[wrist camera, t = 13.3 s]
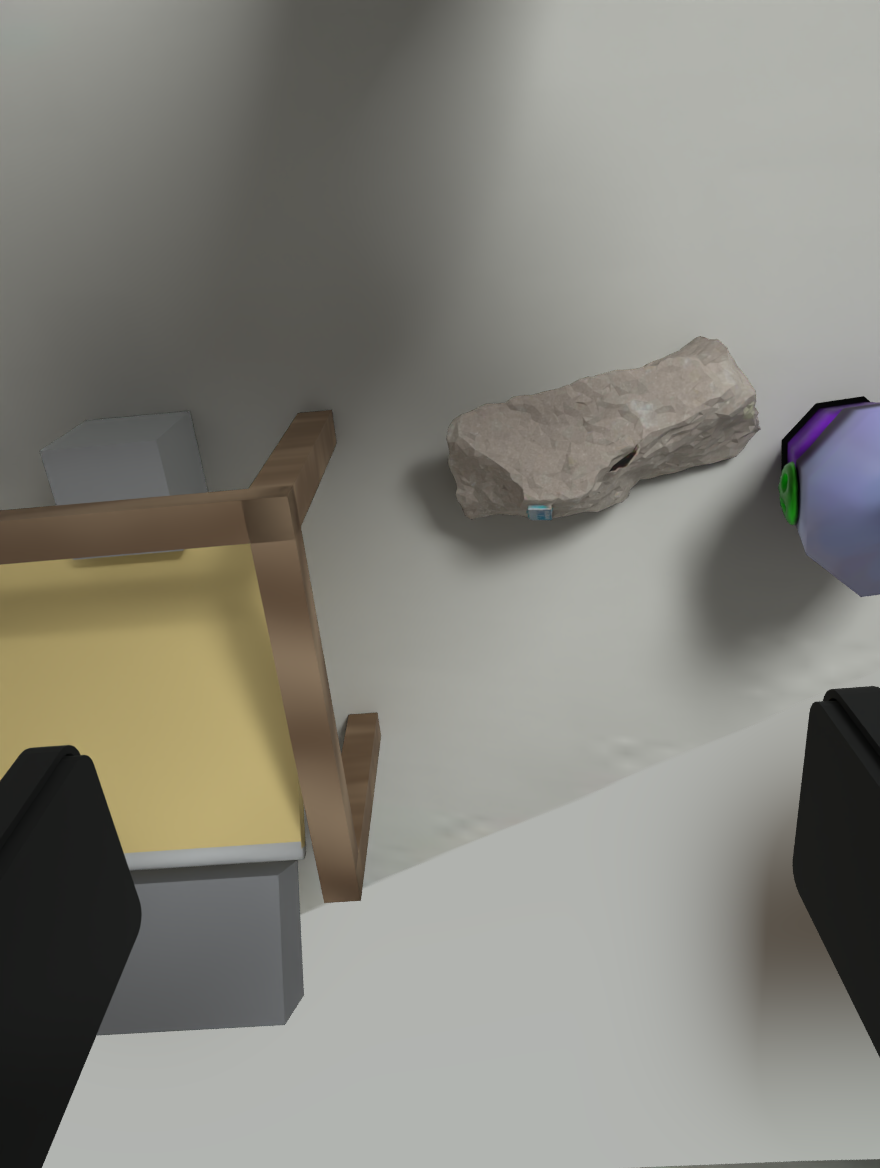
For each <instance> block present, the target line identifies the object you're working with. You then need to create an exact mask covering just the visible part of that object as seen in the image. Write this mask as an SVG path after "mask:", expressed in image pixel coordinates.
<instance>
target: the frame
mask: <svg viewBox="0 0 880 1168" xmlns="http://www.w3.org/2000/svg"><path fill="white" fill-rule="evenodd" d="M336 444H337V441H336V435H335V428H334V421H333V415H332V410H326V411H315V412H304V413H298V414H297V415H296V417H295V418H294V420H293V421H292V423H291V425H290V426H289V428H288V429H287V431H286V432H285V434H284V435H283V437H282V438H281V440H280V441H279V443H278V444H277V446H276V448H275V449H274V451H273V452H272V454H271V455H270V457H269V458H268V460H267V461H266V463H265V464H264V466H263V467H262V469H261V470H260V472H259V474H258V475H257V477H256V478H255V480H254V481H253V483H252V484H251V486H250V487H249V489H241V490H229V491H218V492H206V493H195V494H183V495H172V496H160V497H149V498H138V499H126V500H115V501H103V502H92V503H80V504H69V505H57V506H46V507H35V508H23V509H12V510H0V565H2V564H14V563H26V562H38V561H49V560H61V559H73V558H85V557H97V556H109V555H121V554H133V553H145V552H156V551H168V550H180V549H192V548H204V547H216V546H228V545H240V544H250V546H251V551H252V556H253V561H254V566H255V571H256V575H257V580H258V585H259V590H260V595H261V600H262V604H263V609H264V614H265V619H266V624H267V628H268V633H269V638H270V643H271V648H272V653H273V657H274V662H275V667H276V672H277V677H278V682H279V686H280V691H281V696H282V701H283V706H284V711H285V715H286V720H287V725H288V730H289V735H290V739H291V744H292V749H293V754H294V759H295V764H296V768H297V773H298V778H299V783H300V788H301V793H302V797H303V802H304V807H305V812H306V817H307V822H308V826H309V831H310V836H311V841H312V846H313V850H314V855H315V860H316V865H317V870H318V875H319V879H320V884H321V889H322V894H323V899H324V903H331V902H347V901H360V900H361V895H362V887H363V879H364V871H365V862H366V854H367V846H368V838H369V830H370V822H371V813H372V805H373V797H374V789H375V781H376V773H377V764H378V756H379V748H380V740H381V733H380V727H379V720H378V713H365V714H351V715H349V716H348V722H347V727H346V732H345V738H344V743H343V748H342V754H341V751H340V745H339V740H338V734H337V729H336V723H335V717H334V712H333V706H332V700H331V695H330V689H329V683H328V678H327V672H326V667H325V661H324V655H323V650H322V644H321V638H320V633H319V627H318V621H317V616H316V610H315V605H314V599H313V593H312V588H311V582H310V576H309V571H308V565H307V559H306V554H305V548H304V543H303V537H302V531H301V525H302V523H303V521H304V518H305V516H306V514H307V511H308V509H309V507H310V504H311V502H312V500H313V497H314V495H315V493H316V490H317V488H318V486H319V483H320V481H321V479H322V476H323V474H324V472H325V469H326V467H327V465H328V462H329V460H330V458H331V455H332V453H333V451H334V448H335V446H336Z"/></svg>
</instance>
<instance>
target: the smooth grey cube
mask: <svg viewBox="0 0 880 1168" xmlns="http://www.w3.org/2000/svg"><path fill="white" fill-rule="evenodd" d="M40 454H41V458H42V461H43V464H44V468H45V471H46V474H47V477H48V481H49V484H50V487H51V490H52V494H53V497H54V500H55V503H56V506H57V505H69V504H80V503H92V502H103V501H115V500H126V499H138V498H149V497H160V496H172V495H183V494H195V493H206V492H208V490H207V485H206V481H205V476H204V472H203V467H202V463H201V458H200V454H199V449H198V445H197V441H196V436H195V432H194V427H193V423H192V418H191V414H190V411H184V412H173V413H162V414H151V415H140V416H130V417H119V418H108V419H97V420H86V421H84V422H83V423H81V424H80V425H78V426H77V427H75V428H74V429H72V430H71V431H69V432H68V433H66V434H65V435H63V436H61V437H60V438H58V439H57V440H55V441H54V442H52V443H51V444H49V445H48V446H46V447H45V448H43V449H42V450H40ZM183 550H184V549H180V550H168V551H156V552H145V553H133V554H121V555H109V556H97V557H85V558H73V560H77V559H89V558H101V557H113V556H125V555H137V554H148V553H160V552H172V551H183Z"/></svg>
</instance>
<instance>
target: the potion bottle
mask: <svg viewBox="0 0 880 1168" xmlns="http://www.w3.org/2000/svg"><path fill="white" fill-rule="evenodd" d="M778 489H779V493H780V505H781V508H782V511H783V514H784V516H785V518H786V520H787V522H788V523H789V524H791V525H796V527H797V529H798V532H799V535H800V538H801V541H802V544H803V547H804V549H805V552H806V555H807V556H809V557H810V558H811V559H813V560H814V561H815V562H817V563H818V564H819V565H820V566H822V567H823V568H824V569H826V570H827V571H828V572H829V573H831V574H832V575H833V576H835V577H836V578H837V579H838V580H840V581H841V582H842V583H844V584H845V585H846V586H847V587H849V588H850V589H851V590H853V591H854V592H855V593H857V594H858V595H859V596H860V597H864V596H871V595H879V594H880V403H875V402H870V401H869V400H868V399H866V398H865V397H864V396H863V397H856V398H850V399H843V400H836V401H829V402H823V403H816V404H815V405H814V406H813V407H812V408H811V410H810V411H809V412H808V413H807V414H806V415H805V416H804V417H803V418H802V419H801V420H800V421H799V422H798V424H797V425H796V426H795V427H794V428H793V429H792V430H791V431H790V432H789V433H788V434H787V435H786V436H785V437H784V439H783V440H782V469H781V477H780V483H779V486H778Z"/></svg>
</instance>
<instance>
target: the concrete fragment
mask: <svg viewBox="0 0 880 1168" xmlns="http://www.w3.org/2000/svg"><path fill="white" fill-rule="evenodd" d="M755 403H756V391H755V389H754V388H753V386H752V385H751V383H750V382H749V380H748V379H747V377H746V376H745V375H744V373H743V372H742V371H741V370H740V369H739V368H738V366H737V364H736V363H735V361H734V359H733V357H731V355H730V353H729V351H728V348H727V347H726V346H724V344H723V343H722V342H720V341H719V340H718V339H710V340H709V339H707V338H705V337H701V336H700V337H696V338H695V339H694V340H692V341H691V342H690V343H688V344H687V345H686V346H684V347H683V348H682V349H681V350H680V351H677V352H675V353H672V354H670V355H668V356H666V357H664V358H661V359H659V360H656V361H653V362H650V363H648V364H646V365H645V366H644V367H641V368H636V369H629V370H614V371H610V372H607V373H603V374H600V375H596V376H594V377H585V378H582V379H579V380H577V381H575V382H574V383H572V384H570V385H566V386H563V387H561V388H559V389H554V390H549V391H544V392H541V393H538V394H534V395H523V396H515V397H512V398H511V399H509V400H508V401H507V402H506V403H497V404H484V405H482V406H480V407H478V408H476V409H475V410H472V411H470V412H467V413H465V414H462V415H460V416H458V417H457V418H455V419H454V420H453V421H452V422H451V424H450V426H449V427H448V433H447V442H448V447H449V452H450V455H449V458H448V465H449V468H450V470H451V472H452V474H453V476H454V479H455V481H456V484H457V491H456V497H457V501H458V502H459V503H460V505H461V506H462V509H463V511H464V514H465V516H467V517H468V518H470V519H471V520H472V519H475V518H479V517H487V516H490V515H494V514H510V515H513V516H514V515H521V516H524V517H528V518H529V519H530V520H552V518H557V517H563V516H569V515H574V514H577V513H582V512H599V511H601V510H603V509H605V508H608V507H610V506H612V505H614V504H617V503H620V502H623V501H624V500H625V499H626V498H627V497H628V496H629V492H630V490H631V488H632V487H633V486H634V485H636V484H637V482H638V481H639V480H642V479H651V478H654V477H657V476H661V475H664V474H672V473H676V472H679V471H683V470H685V469H687V468H689V467H693V466H699V465H705V464H711V463H715V462H718V461H721V460H727V459H730V458H733V457H736V456H737V455H738V454H739V453H740V452H741V451H742V450H743V449H744V448H745V446H746V444H747V442H748V441H749V440H750V439H751V438H752V437H753V436H754V435H755V433H756V432H757V431H759V430H760V427H759V421H758V417H757V416H758V413H759V412H758V411H757V410H756V408H755V407H754V406H755Z"/></svg>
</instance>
